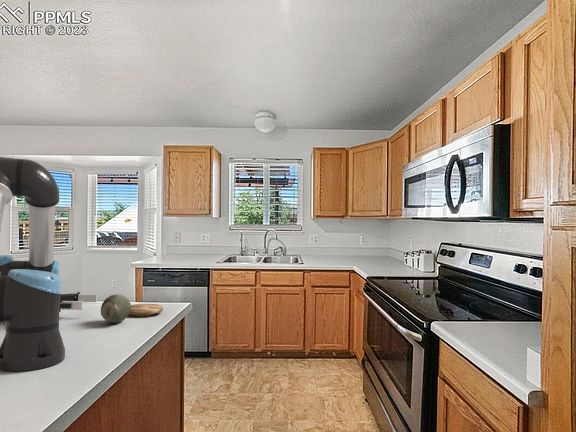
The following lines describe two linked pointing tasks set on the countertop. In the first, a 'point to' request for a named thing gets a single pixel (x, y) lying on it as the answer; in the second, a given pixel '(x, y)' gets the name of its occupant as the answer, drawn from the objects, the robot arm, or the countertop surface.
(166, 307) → the countertop surface
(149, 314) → the susan base
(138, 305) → the lazy susan
